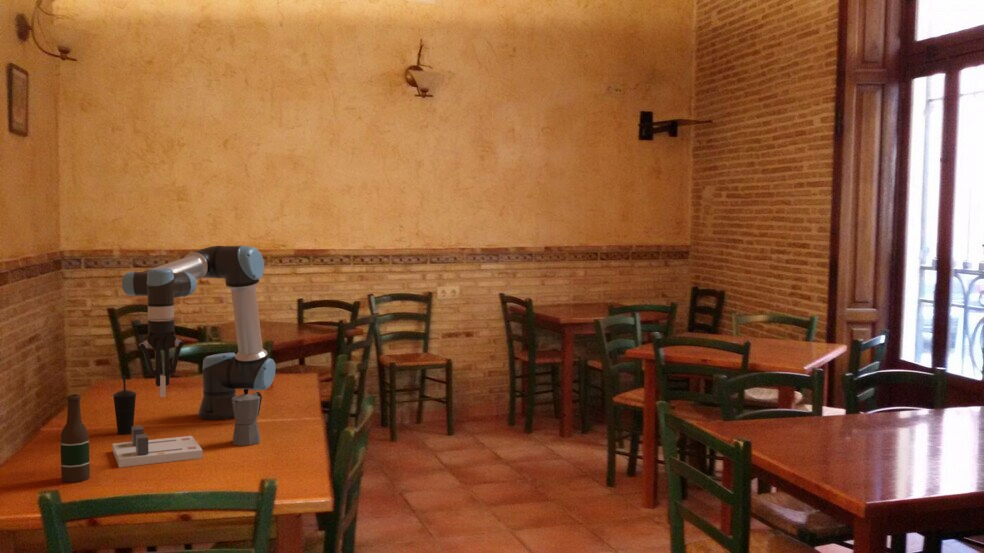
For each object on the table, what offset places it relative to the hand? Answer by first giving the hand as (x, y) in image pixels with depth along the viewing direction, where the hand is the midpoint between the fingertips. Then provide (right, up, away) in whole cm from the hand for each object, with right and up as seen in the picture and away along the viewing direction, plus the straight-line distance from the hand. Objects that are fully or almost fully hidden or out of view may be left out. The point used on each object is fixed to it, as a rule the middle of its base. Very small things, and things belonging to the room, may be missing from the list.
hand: (162, 396), depth 275 cm
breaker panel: (-4, -19, +6) cm, 20 cm away
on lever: (-11, -16, +9) cm, 21 cm away
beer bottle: (-17, -21, -20) cm, 34 cm away
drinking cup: (-25, -17, +33) cm, 45 cm away
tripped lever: (-6, -17, -2) cm, 18 cm away
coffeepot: (+20, -18, +23) cm, 36 cm away
